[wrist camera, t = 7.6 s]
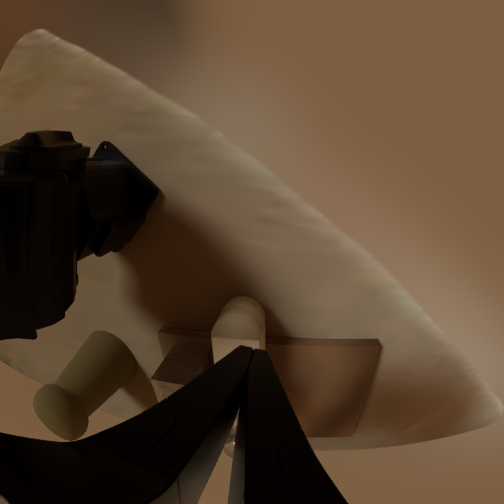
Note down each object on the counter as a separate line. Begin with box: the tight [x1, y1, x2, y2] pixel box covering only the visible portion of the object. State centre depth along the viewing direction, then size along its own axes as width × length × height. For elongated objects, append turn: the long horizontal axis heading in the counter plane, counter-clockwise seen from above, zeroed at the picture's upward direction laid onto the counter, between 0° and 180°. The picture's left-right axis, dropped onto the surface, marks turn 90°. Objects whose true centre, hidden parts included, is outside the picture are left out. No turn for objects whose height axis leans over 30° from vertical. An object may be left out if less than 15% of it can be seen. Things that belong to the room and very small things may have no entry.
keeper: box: [151, 342, 239, 458], centre depth 21 cm, size 9×8×6 cm
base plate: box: [158, 326, 380, 437], centre depth 23 cm, size 18×12×1 cm, turn 91°
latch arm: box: [211, 296, 265, 446], centre depth 20 cm, size 15×4×3 cm, turn 1°
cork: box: [33, 331, 136, 441], centre depth 20 cm, size 6×6×11 cm
